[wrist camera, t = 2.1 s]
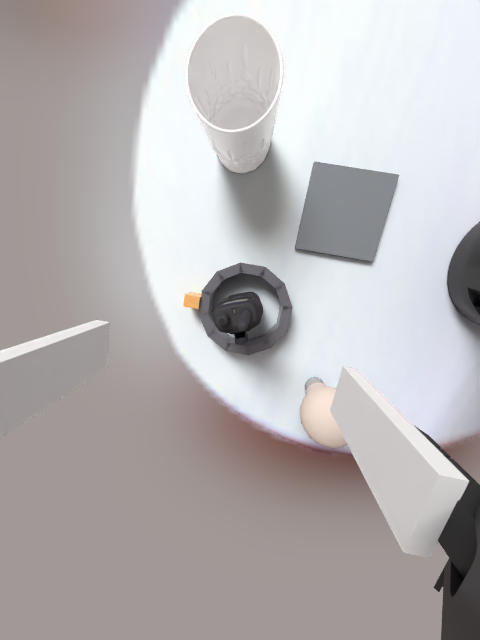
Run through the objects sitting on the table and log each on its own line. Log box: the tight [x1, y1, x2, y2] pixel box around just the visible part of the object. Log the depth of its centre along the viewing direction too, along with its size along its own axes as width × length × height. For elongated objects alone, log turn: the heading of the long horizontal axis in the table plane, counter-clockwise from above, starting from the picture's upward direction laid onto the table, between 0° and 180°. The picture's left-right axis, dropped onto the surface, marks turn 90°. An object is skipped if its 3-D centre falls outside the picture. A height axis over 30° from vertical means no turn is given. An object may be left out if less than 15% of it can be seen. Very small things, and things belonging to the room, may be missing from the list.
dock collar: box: [184, 263, 292, 355], centre depth 31 cm, size 14×12×3 cm
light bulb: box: [300, 377, 347, 448], centre depth 28 cm, size 7×7×11 cm
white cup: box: [185, 13, 283, 174], centre depth 23 cm, size 8×8×10 cm
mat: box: [295, 162, 399, 262], centre depth 28 cm, size 10×10×1 cm
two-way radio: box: [212, 292, 263, 345], centre depth 25 cm, size 6×4×15 cm
